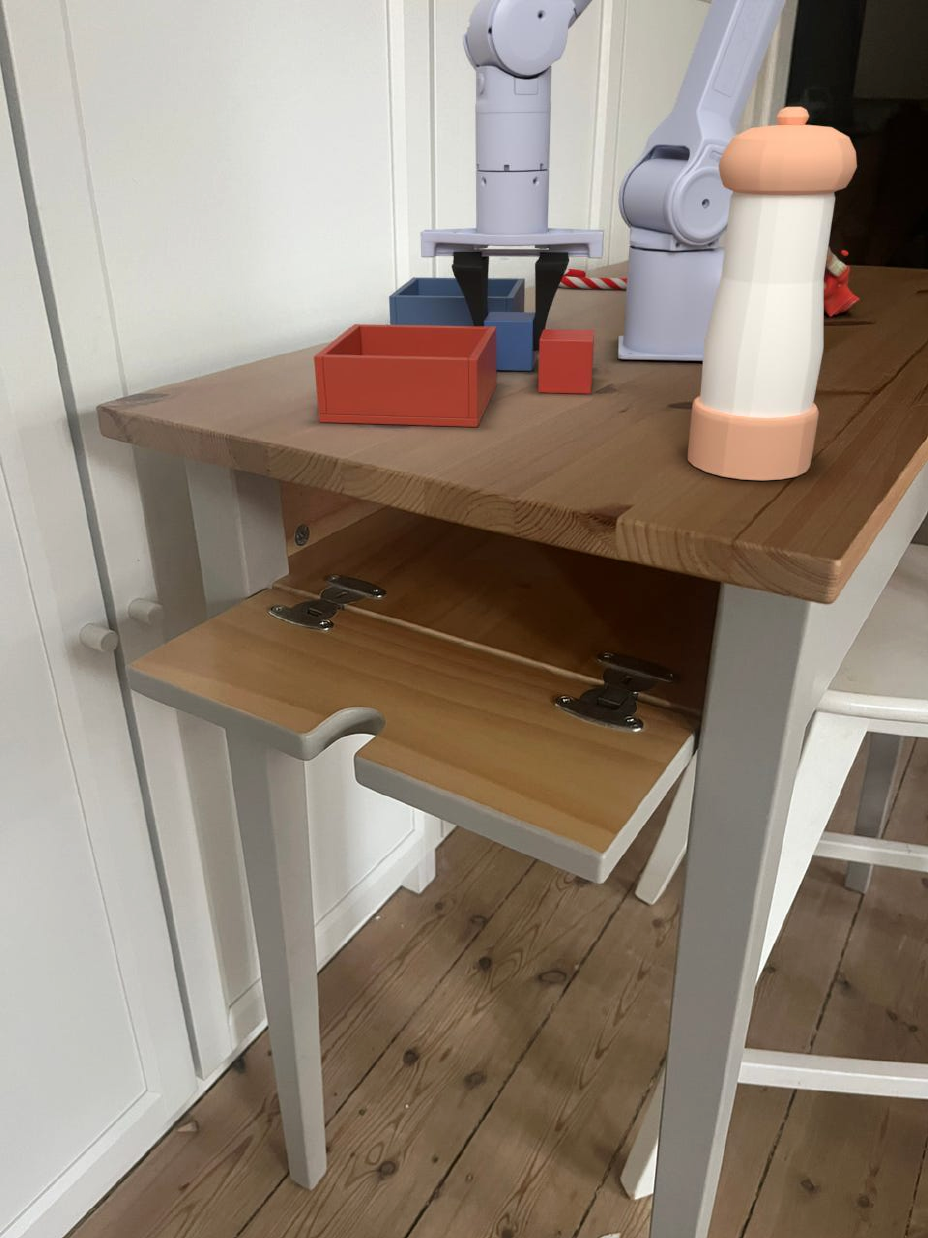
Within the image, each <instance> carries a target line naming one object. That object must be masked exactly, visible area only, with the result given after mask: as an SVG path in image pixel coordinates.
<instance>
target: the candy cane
mask: <svg viewBox="0 0 928 1238" xmlns="http://www.w3.org/2000/svg"><path fill="white" fill-rule="evenodd" d="M558 288H563V289H578V290H580V289H581V290H615V291H617V290H620V291H621V290H623V291H624V290H627V277H587V274H586V271H584V270H583V269H582V270H581V269H576V268H567V269H566V271H565V273H564V275H563V277H562V280H561V282H560V284H559V286H558Z"/></svg>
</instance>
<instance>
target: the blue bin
mask: <svg viewBox="0 0 928 1238" xmlns="http://www.w3.org/2000/svg"><path fill="white" fill-rule="evenodd" d="M525 285H526V279H525V278H523V277H522V278H518V277H517V278H515V277H511V278H510V277H509V278H508V277H505V278H504V277H502V278H501V277H488V314H489V313H490V312H525V291H526V290H525V289H526V288H525ZM388 302H389V303H388V304H389V305H388V306H389V323H390V324H389V325H431V326H474V324H473V320H472V317H471V314H470V311H469V308H468V305H467V302H466V300H465V297H464V295H463V293H462V290H461V288H460V286H459V284H458V282H457V280H456V278H455V277H416V276H415V277H412V278H410V279H409V280H408V281H406V283H403V285H401V286H400V287H399V288H398V289H396V290H395V291H393V293H391V294H390V295H389V296H388Z"/></svg>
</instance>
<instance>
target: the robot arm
mask: <svg viewBox="0 0 928 1238" xmlns="http://www.w3.org/2000/svg"><path fill="white" fill-rule="evenodd" d="M592 2H593V0H479V1H478V2H477V3H476V4H475V6H474V7H473V9H472V11H471V14H470V15H469V19H468V22H469V25H468V26H467V28H466V32H465V33H463V34H462V45H463V49H464V50H463V51H464V53H465V56H466V58H467V60H468V62H469V64H470V65H471V67H472V68H473V70H474V71H475V104H474V106H475V107H474V112H475V113H474V114H475V123H474V124H475V125H474V127H475V227H472V228H471V227H469V228H443V229H441V228H440V229H439V228H437V229H424V230H422V231H420V257H421V258H436V257H453V259H452V264H451V270H452V273H453V276H454V278H456V280H457V282H458V284H459V286H460V288H461V290H462V293H463V295H464V297H465V300H466V302H467V305H468V308H469V311H470V314H471V317H472V320H473V324H474V326H484V320H485V319H486V317H487V316H488V278H489V272H490V271H489V269H490V257H511V258H513V257H515V258H517V257H523V258H524V257H525V258H527V257H529V258H532V257H533V258H535V257H536V258H537V257H538V259H536V261H535V263H534V288H535V289H534V301H535V302H534V303H535V305H534V308H535V309H534V312H535V320H534V330H533V351H536V352H539V340H540V337H541V335H542V332H543V329H546V327H547V326H546V325H547V321H548V318H549V315H550V311H551V308H552V305H553V302H554V299H555V295H556V293H557V291H558V290H559V289H558V288H559V287H558V286H559V284H560V282H561V280H562V277H563V275H564V273H565V271H566V269H568V266H569V263H570V258H588V259H602V258H603V256H604V238H605V237H604V236H605V230H604V229H582V228H560V227H559V228H558V227H557V228H556V227H549V200H550V199H549V198H550V197H549V195H550V157H551V155H550V154H551V153H550V152H551V118H552V116H551V115H552V113H551V112H552V99H551V98H552V66H553V64H554V63H555V62H557V61H559V60H560V59H561V58H562V56H563V54H564V52H565V50H566V47H567V42H568V36H569V29H570V28H572V27H573V25H574V24H575V22H577V20H578V19H579V18H580V16H581V15H582V14H583V12H584V11H586V9H587V8H588V7H589V6H590V4H591V3H592ZM786 2H787V0H711V2H710V5H709V7H708V10H707V13H706V15H705V18H704V22H703V24H702V27H701V30H700V33H699V35H698V38H697V40H696V44H695V46H694V49H693V53H692V55H691V58H690V61H689V63H688V66H687V69H686V71H685V74H684V77H683V79H682V82H681V85H680V87H679V91H678V93H677V95H676V99H675V102H674V105H673V107H672V110H671V111H670V112H669V114H668V115H667V116H666V117H665V118H664V119H663V121H661V122H660V123H659V125H658V126H657V127H656V128H655V129H654V130H653V131H652V132H651V133H650V134H649V136H648V138H647V139H646V143H645V146H644V149H643V151H642V153H641V154H640V156H639V158H638V159H637V160H636V161H635V163H634V164H632V165H631V167H630V168H629V169H628V170H627V172H626V173H625V174H624V177H623V179H622V180H621V183H620V187H619V190H618V198H617V199H618V200H617V201H618V202H617V203H618V208H619V209H618V210H619V213H620V216H621V218H622V220H623V222H624V224H625V225H626V226H627V227H628V228H629V247H628V261H627V277H626V278H627V290H626V291H625V292H626V293H625V307H624V323H623V324H624V325H623V335H619V336H618V344H617V345H618V347H617V358H618V359H619V360H638V361H640V360H642V361H647V360H648V361H683V362H684V361H687V362H688V361H689V362H703V353H704V341H705V337H706V333H707V329H708V326H709V322H710V318H711V314H712V310H713V306H714V302H715V299H716V295H717V291H718V287H719V283H720V279H721V275H722V268H723V259H724V250H725V247H718V244H719V237H720V236H721V235H722V234H723V233H724V232H725V231H726V230H727V224H728V216H729V207H730V198H731V195H732V193H733V191H732V190H729V189H727V188H725V187H724V186H723V183H722V180H721V177H720V172H719V163H720V160H721V157H722V154H723V151H724V150H725V148H726V147H727V145H728V144H729V143H730V141H731V140H732V138H733V137H735V136H737V135H738V131H737V130H738V127H739V125H740V122H741V120H742V117H743V114H744V112H745V108H746V106H747V104H748V101H749V98H750V96H751V94H752V91H753V88H754V86H755V84H756V81H757V77H758V75H759V73H760V70H761V67H762V65H763V62H764V60H765V57H766V55H767V51H768V49H769V47H770V44H771V41H772V39H773V36H774V34H775V31H776V28H777V26H778V23H779V21H780V19H781V15H782V13H783V10H784V7H785V5H786ZM490 246H492V247H525V246H526V247H528V246H529V247H530V246H532V247H533V246H534V248H489V247H490Z"/></svg>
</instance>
